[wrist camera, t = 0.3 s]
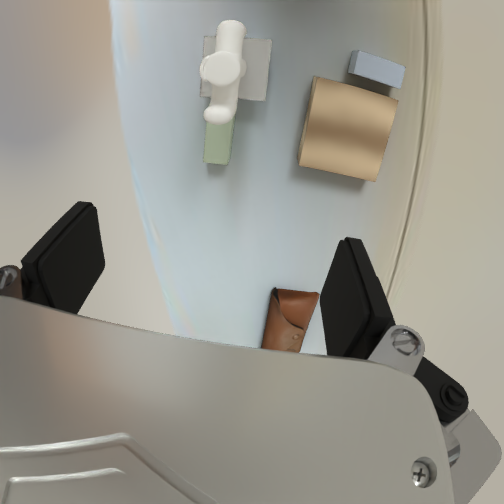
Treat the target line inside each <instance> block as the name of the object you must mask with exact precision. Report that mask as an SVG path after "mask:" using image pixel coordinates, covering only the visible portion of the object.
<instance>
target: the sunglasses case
mask: <svg viewBox="0 0 504 504" xmlns="http://www.w3.org/2000/svg"><path fill="white" fill-rule="evenodd" d="M318 298H319V294H318V293H317V292H304V291H296V290H287V289H276V287H275V288H274V289H273V290H272V293H271V298H270V303H269V309H268V314H267V320H266V325H265V331H264V336H263V341H262V346H261V349H269V350H278V351H287V352H296V353H299V352H300V349H301V346H302V342H303V339H304V336H305V333H306V330H307V328H308V325H309V322H310V319H311V316H312V314H313V311H314V309H315V306H316V304H317V301H318Z"/></svg>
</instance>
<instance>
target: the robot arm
mask: <svg viewBox="0 0 504 504" xmlns="http://www.w3.org/2000/svg"><path fill="white" fill-rule="evenodd" d="M21 263H22V266H23V267H22V268H21V269H19V268H18V267H17V266H14V265H7V266H3V267H1V268H0V504H468V503H469V501H470V500H471V499H472V498H473V497H474V496H475V494H476V493H477V492H478V491H479V489H480V488H481V487H482V486H483V484H484V483H485V482H486V480H487V479H488V478H489V476H490V475H491V474H492V472H493V471H494V470H495V468H496V466H497V465H498V464H499V462H500V460H501V454H502V452H501V447H500V445H499V443H498V441H497V440H496V439H495V437H494V436H493V435H492V434H491V432H490V431H489V429H488V428H487V427H486V425H485V424H484V423H483V421H482V420H481V419H480V417H479V416H478V415H477V414H476V412H475V411H474V410H473V409H472V410H471V411H469V410H468V408H467V407H468V396H467V393H466V391H465V390H464V388H463V387H462V386H461V385H460V384H459V383H458V382H456V381H455V380H454V379H452V378H451V377H450V376H448V375H447V374H446V373H445V372H443V371H442V370H440V369H439V368H438V367H437V366H435V365H434V364H433V363H431V362H430V361H429V360H427V359H426V358H425V357H423V355H424V351H425V345H424V342H423V340H422V338H421V337H420V335H419V334H418V333H417V332H416V331H414V330H413V329H411V328H409V327H408V326H404V325H396V324H395V321H394V318H393V315H392V313H391V310H390V307H389V304H388V302H387V299H386V296H385V294H384V291H383V288H382V286H381V283H380V281H379V279H378V277H377V276H376V274H375V271H374V269H373V266H372V264H371V261H370V259H369V257H368V254H367V252H366V249H365V247H364V245H363V242H362V240H361V239H356V238H350V237H346V238H345V239H344V240H340V242H339V244H338V247H337V250H336V253H335V255H334V258H333V261H332V264H331V267H330V270H329V272H328V275H327V278H326V281H325V284H324V286H323V289H322V292H321V295H320V307H321V314H322V320H323V327H324V334H325V342H326V349H327V355H319V354H307V353H296V352H287V351H278V350H269V349H260V348H252V347H244V346H237V345H230V344H223V343H216V342H210V341H203V340H197V339H191V338H185V337H180V336H174V335H169V334H163V333H158V332H153V331H148V330H143V329H138V328H133V327H129V326H124V325H119V324H115V323H111V322H106V321H102V320H97V319H93V318H89V317H85V316H81V315H78V314H77V313H78V312H79V310H80V308H81V306H82V305H83V303H84V301H85V300H86V298H87V296H88V295H89V293H90V291H91V290H92V288H93V286H94V285H95V283H96V282H97V280H98V278H99V277H100V275H101V273H102V272H103V270H104V268H105V259H104V253H103V247H102V241H101V235H100V230H99V222H98V215H97V209H96V207H94V206H93V204H92V203H91V202H81V201H79V202H77V203H76V204H75V205H74V206H73V207H72V208H71V209H70V210H69V211H67V212H66V213H65V214H64V215H63V216H62V217H61V218H60V219H59V220H58V221H57V222H56V223H55V224H54V225H53V226H52V228H50V230H49V231H47V233H46V234H45V235H44V236H43V237H42V238H41V239H40V240H39V241H38V242H37V243H36V244H35V245H34V246H33V248H32V249H31V250H30V251H29V252H28V253H27V254H26V255H25V256H24V257H23V259H22V260H21Z"/></svg>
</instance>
